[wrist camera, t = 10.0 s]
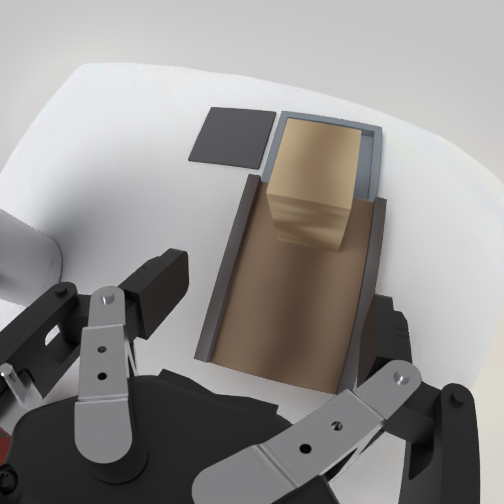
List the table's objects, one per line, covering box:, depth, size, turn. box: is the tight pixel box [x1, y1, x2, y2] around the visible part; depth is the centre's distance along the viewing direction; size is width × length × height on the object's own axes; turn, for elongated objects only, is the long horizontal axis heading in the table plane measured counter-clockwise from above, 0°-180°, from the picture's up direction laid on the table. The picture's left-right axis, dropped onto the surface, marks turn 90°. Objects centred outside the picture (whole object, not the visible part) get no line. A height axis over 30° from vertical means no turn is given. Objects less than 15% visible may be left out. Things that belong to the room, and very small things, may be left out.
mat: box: [188, 107, 276, 169], centre depth 34 cm, size 8×8×1 cm
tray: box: [261, 111, 382, 202], centre depth 30 cm, size 11×10×2 cm
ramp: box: [194, 174, 387, 395], centre depth 26 cm, size 12×16×4 cm
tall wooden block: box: [266, 118, 361, 253], centre depth 22 cm, size 5×6×8 cm
